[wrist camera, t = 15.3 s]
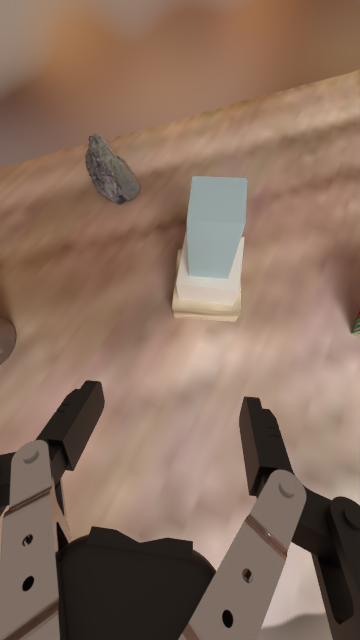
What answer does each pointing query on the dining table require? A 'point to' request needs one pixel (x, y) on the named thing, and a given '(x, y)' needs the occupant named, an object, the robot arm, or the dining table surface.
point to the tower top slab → (209, 281)
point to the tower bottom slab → (203, 305)
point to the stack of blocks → (357, 327)
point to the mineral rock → (110, 172)
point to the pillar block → (215, 224)
